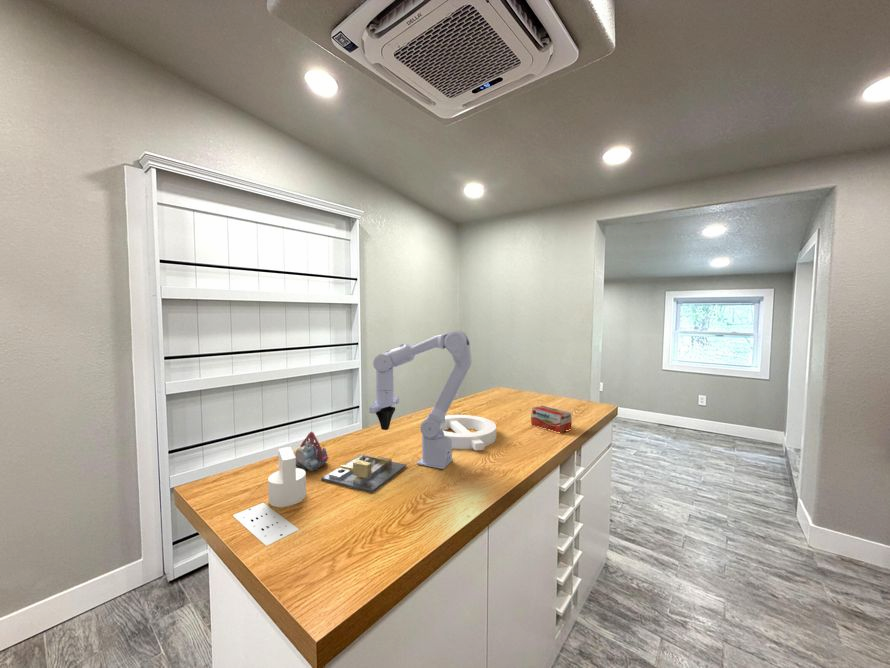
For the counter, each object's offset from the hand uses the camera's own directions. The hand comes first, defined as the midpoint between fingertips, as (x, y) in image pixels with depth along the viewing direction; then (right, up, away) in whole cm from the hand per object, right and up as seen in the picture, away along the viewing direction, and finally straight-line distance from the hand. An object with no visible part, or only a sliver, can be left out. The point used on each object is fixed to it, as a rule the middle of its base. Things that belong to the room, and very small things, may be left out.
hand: (385, 429), depth 116 cm
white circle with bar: (+27, -9, +23) cm, 36 cm away
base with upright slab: (-21, -11, -25) cm, 35 cm away
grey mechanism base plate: (-4, -11, -11) cm, 16 cm away
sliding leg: (-6, -8, -16) cm, 19 cm away
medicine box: (+66, -9, +33) cm, 74 cm away
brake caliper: (-23, -11, -6) cm, 26 cm away
